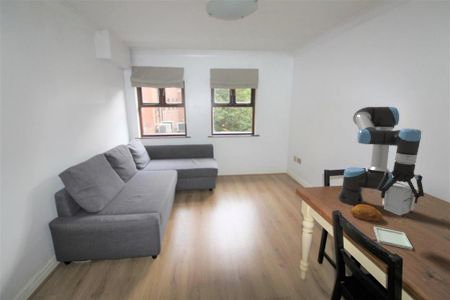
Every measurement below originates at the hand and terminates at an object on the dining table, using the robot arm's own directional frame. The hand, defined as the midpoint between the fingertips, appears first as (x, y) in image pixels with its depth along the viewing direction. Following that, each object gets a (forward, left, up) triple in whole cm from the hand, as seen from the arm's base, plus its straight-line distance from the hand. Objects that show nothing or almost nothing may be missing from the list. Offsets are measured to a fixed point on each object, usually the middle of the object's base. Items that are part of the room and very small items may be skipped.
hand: (397, 206), depth 104 cm
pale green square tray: (0, 0, -18) cm, 18 cm away
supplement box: (0, 0, -3) cm, 3 cm away
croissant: (-21, -8, -18) cm, 29 cm away
